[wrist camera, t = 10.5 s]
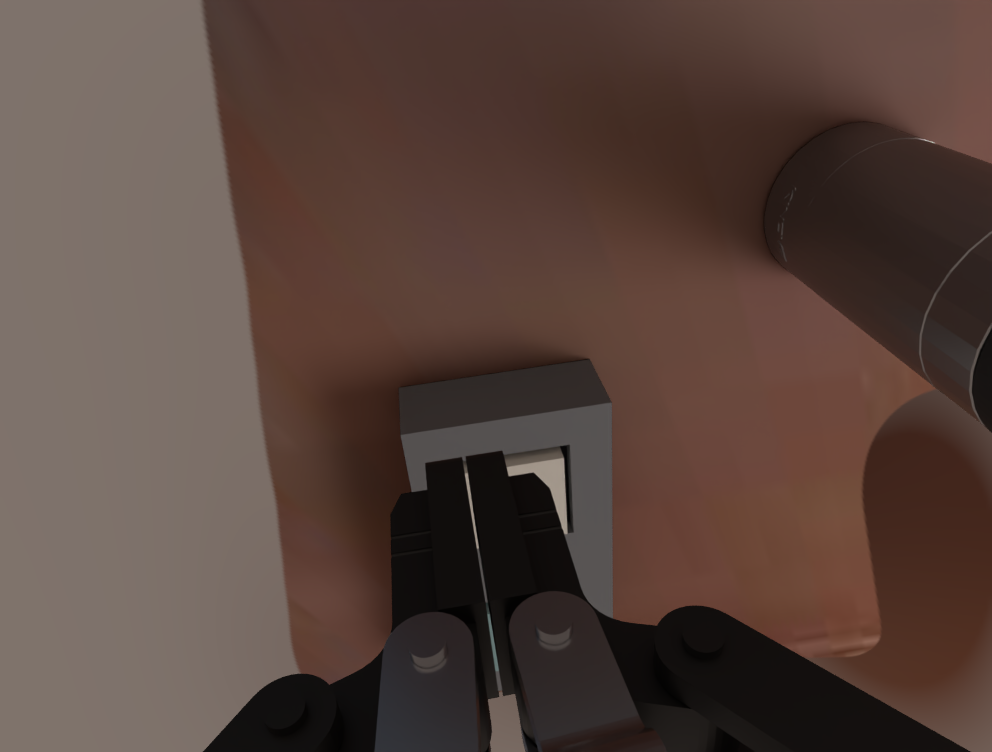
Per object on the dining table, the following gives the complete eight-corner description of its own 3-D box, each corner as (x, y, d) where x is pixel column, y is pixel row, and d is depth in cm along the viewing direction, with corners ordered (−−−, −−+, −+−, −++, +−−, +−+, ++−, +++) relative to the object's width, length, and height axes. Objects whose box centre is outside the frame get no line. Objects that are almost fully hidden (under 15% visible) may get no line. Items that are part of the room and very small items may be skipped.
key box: (589, 359, 45) (611, 402, 40) (595, 616, 57) (613, 670, 53) (398, 387, 44) (400, 435, 40) (447, 642, 56) (452, 699, 52)
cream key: (553, 428, 44) (563, 458, 41) (557, 501, 47) (567, 533, 44) (456, 443, 43) (461, 474, 41) (467, 516, 47) (472, 549, 44)
